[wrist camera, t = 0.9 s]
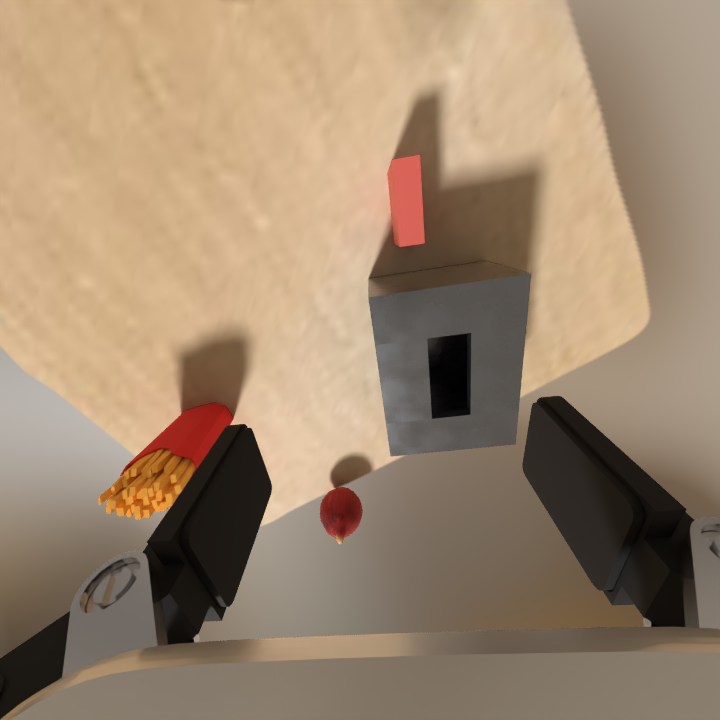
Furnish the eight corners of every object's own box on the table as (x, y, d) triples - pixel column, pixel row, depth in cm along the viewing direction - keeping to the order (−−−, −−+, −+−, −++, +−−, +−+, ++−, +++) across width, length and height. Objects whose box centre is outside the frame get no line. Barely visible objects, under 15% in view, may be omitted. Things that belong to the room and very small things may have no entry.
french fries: (228, 397, 37) (163, 477, 25) (243, 423, 39) (189, 510, 27) (167, 414, 38) (78, 497, 27) (184, 439, 40) (108, 527, 28)
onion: (317, 493, 44) (307, 546, 37) (335, 469, 42) (328, 520, 35) (350, 507, 45) (347, 561, 38) (369, 484, 43) (369, 537, 36)
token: (387, 173, 26) (392, 159, 21) (409, 169, 26) (420, 154, 21) (394, 243, 29) (399, 247, 24) (414, 240, 29) (424, 243, 23)
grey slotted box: (368, 278, 30) (368, 297, 22) (485, 260, 29) (530, 273, 21) (385, 405, 37) (390, 456, 29) (482, 394, 36) (515, 444, 28)
